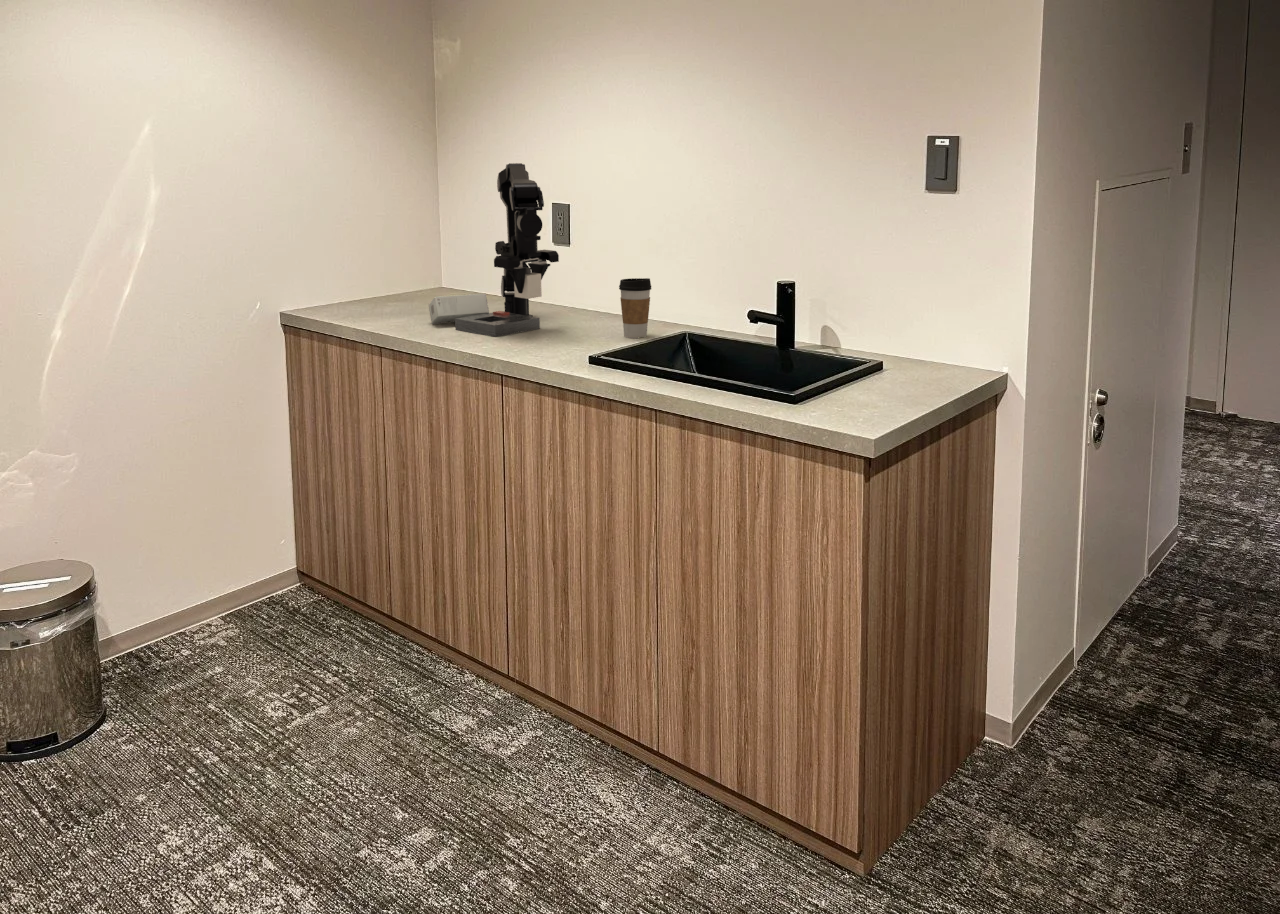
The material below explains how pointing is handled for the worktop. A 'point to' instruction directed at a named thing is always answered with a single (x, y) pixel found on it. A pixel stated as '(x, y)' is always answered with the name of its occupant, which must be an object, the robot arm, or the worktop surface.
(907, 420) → the worktop surface
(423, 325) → the worktop surface
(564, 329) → the worktop surface
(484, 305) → the skincare box
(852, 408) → the worktop surface
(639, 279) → the coffee cup
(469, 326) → the socket plate
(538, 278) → the plug
